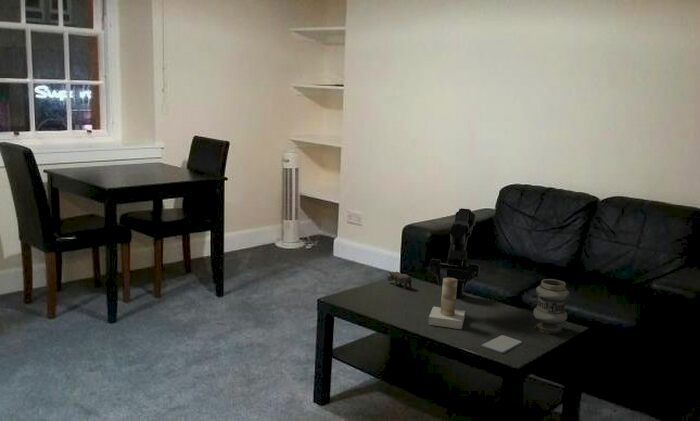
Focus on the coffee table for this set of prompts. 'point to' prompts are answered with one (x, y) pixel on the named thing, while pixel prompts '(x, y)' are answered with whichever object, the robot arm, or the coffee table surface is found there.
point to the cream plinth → (446, 318)
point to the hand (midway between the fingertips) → (451, 287)
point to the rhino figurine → (400, 279)
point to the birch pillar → (448, 296)
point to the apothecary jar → (551, 305)
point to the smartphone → (501, 344)
